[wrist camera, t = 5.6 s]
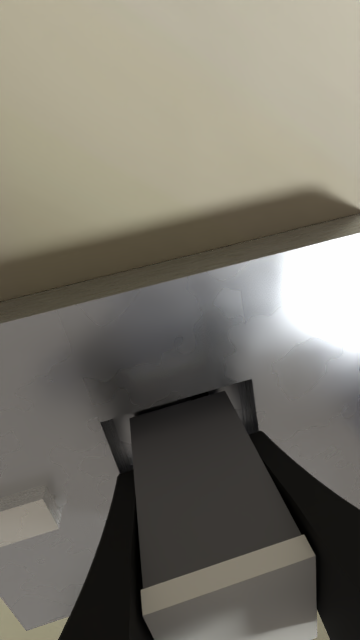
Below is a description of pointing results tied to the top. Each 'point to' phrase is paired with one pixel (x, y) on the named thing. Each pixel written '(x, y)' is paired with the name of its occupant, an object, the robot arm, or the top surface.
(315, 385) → the socket plate
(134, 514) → the robot arm
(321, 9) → the top surface
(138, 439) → the plug
